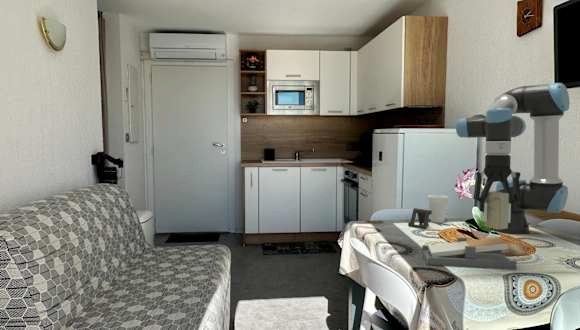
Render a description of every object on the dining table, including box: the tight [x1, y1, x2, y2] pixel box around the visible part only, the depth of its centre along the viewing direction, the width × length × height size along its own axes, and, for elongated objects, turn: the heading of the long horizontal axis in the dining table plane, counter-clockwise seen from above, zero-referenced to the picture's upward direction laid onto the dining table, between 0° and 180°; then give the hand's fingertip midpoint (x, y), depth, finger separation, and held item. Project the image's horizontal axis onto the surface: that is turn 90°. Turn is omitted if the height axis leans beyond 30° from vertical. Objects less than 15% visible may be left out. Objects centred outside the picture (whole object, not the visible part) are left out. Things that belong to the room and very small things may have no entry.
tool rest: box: [502, 242, 528, 256], centre depth 139 cm, size 12×12×2 cm
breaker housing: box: [421, 236, 517, 270], centre depth 130 cm, size 27×15×6 cm, turn 78°
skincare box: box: [483, 190, 509, 229], centre depth 126 cm, size 6×4×12 cm
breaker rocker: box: [427, 236, 508, 257], centre depth 129 cm, size 24×9×2 cm, turn 78°
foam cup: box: [427, 194, 449, 224], centre depth 190 cm, size 10×9×13 cm
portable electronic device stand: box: [407, 207, 432, 230], centre depth 179 cm, size 9×8×8 cm
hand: (495, 221), depth 127 cm, fingers closed on skincare box, 7 cm apart
